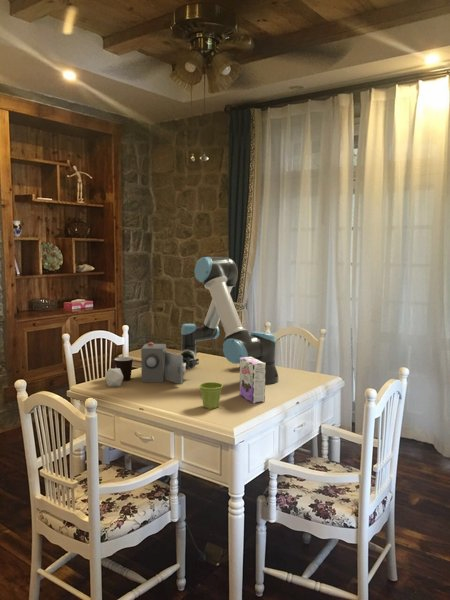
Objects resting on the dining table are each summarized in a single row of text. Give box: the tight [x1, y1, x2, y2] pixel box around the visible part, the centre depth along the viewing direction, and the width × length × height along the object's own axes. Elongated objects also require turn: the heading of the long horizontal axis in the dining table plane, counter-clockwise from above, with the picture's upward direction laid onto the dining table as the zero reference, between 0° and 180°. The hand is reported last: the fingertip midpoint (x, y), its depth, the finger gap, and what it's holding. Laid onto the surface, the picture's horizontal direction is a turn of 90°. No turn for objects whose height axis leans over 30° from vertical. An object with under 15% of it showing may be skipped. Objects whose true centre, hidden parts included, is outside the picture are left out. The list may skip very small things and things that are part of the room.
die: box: [104, 368, 124, 388], centre depth 232 cm, size 8×9×10 cm
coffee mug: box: [113, 356, 133, 382], centre depth 245 cm, size 12×9×10 cm
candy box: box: [239, 357, 266, 404], centre depth 212 cm, size 14×6×16 cm, turn 22°
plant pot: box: [198, 381, 224, 410], centre depth 201 cm, size 9×9×9 cm
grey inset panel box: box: [140, 341, 167, 383], centre depth 243 cm, size 14×10×17 cm
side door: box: [163, 350, 184, 385], centre depth 234 cm, size 13×2×13 cm, turn 44°
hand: (182, 369), depth 231 cm, fingers closed
